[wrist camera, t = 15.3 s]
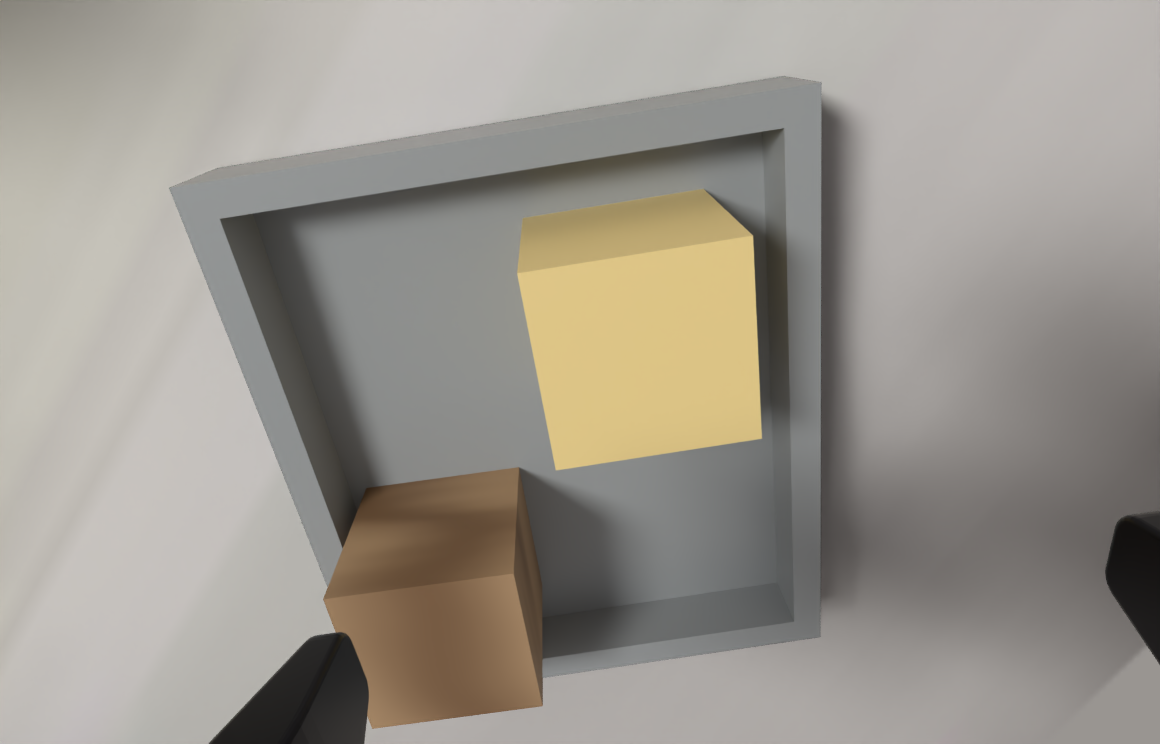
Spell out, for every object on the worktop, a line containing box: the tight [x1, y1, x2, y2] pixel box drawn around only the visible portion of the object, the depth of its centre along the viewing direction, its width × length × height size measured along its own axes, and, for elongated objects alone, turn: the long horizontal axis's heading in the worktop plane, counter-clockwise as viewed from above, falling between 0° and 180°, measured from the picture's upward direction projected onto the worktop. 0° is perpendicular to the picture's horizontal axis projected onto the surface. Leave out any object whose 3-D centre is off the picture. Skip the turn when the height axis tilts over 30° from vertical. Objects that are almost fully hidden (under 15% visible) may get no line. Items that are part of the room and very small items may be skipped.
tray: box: [169, 76, 821, 678], centre depth 19 cm, size 14×16×2 cm
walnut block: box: [323, 467, 543, 729], centre depth 19 cm, size 4×4×4 cm
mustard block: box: [517, 189, 762, 470], centre depth 16 cm, size 4×4×4 cm
